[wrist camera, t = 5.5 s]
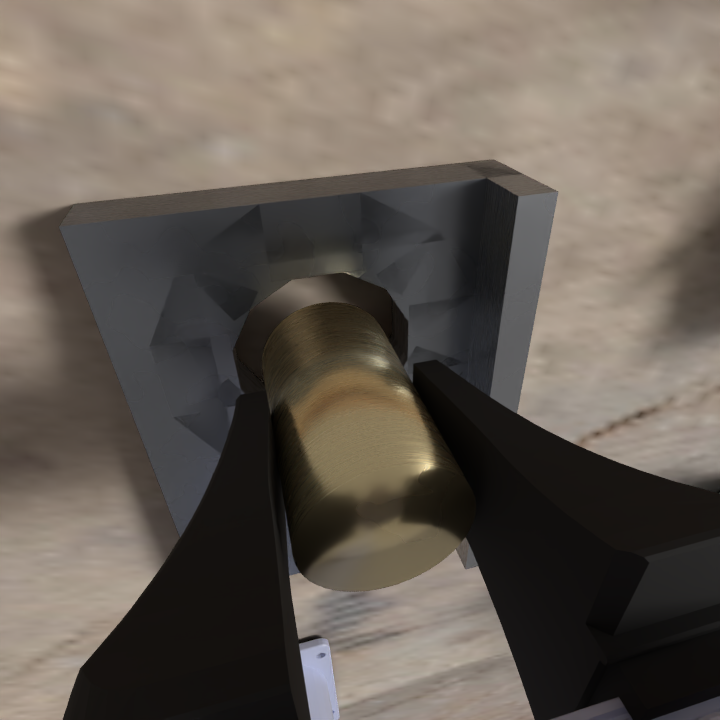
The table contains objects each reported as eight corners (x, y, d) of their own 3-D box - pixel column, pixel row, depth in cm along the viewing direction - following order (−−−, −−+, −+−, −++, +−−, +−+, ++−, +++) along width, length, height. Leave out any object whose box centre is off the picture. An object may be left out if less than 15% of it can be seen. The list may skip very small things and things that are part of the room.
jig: (456, 500, 22) (488, 563, 20) (203, 560, 20) (202, 638, 18) (494, 159, 14) (558, 191, 12) (74, 203, 12) (39, 254, 10)
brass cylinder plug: (387, 396, 16) (467, 565, 11) (270, 418, 15) (301, 608, 10) (387, 293, 14) (485, 446, 9) (252, 313, 13) (280, 490, 8)
